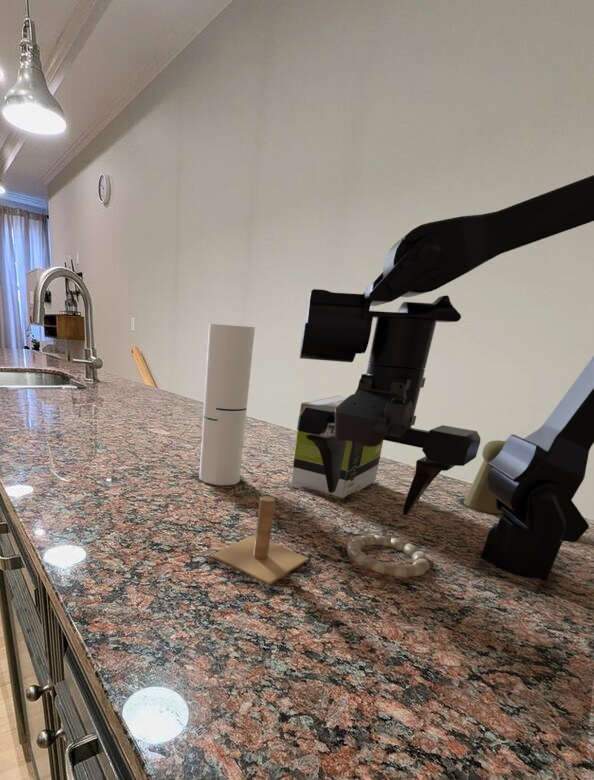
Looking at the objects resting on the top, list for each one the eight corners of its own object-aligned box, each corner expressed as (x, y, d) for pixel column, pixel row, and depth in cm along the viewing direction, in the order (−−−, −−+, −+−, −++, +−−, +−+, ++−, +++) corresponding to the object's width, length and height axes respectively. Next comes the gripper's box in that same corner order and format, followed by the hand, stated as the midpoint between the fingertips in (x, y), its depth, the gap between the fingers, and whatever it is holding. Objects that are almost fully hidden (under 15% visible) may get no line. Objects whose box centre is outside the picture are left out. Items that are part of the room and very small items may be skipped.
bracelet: (436, 563, 54) (440, 551, 54) (411, 591, 48) (414, 578, 47) (364, 538, 60) (367, 527, 59) (332, 560, 53) (335, 548, 52)
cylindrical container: (236, 487, 75) (252, 327, 65) (195, 482, 76) (204, 323, 67) (242, 475, 81) (257, 327, 72) (203, 470, 83) (213, 324, 73)
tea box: (326, 470, 88) (339, 393, 82) (376, 483, 82) (394, 402, 77) (287, 486, 77) (300, 399, 72) (342, 503, 72) (360, 410, 66)
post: (307, 565, 51) (319, 500, 48) (268, 591, 46) (278, 520, 43) (252, 541, 56) (259, 481, 53) (210, 562, 51) (215, 496, 47)
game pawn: (493, 501, 77) (514, 439, 73) (512, 515, 72) (535, 448, 67) (457, 498, 78) (476, 436, 73) (473, 511, 72) (494, 444, 68)
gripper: (280, 358, 47) (264, 496, 53) (474, 380, 36) (426, 551, 42) (330, 357, 55) (310, 477, 61) (501, 375, 44) (457, 520, 50)
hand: (366, 502), depth 53 cm, fingers open, 9 cm apart
